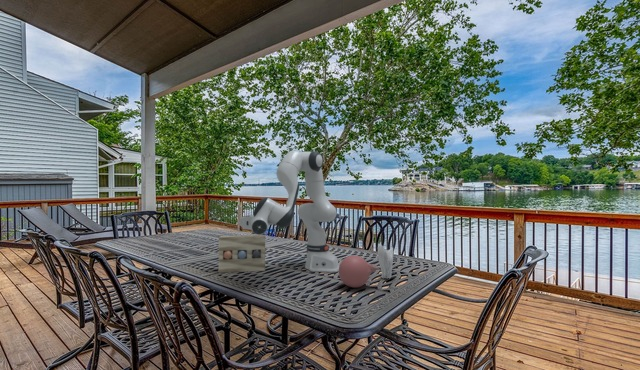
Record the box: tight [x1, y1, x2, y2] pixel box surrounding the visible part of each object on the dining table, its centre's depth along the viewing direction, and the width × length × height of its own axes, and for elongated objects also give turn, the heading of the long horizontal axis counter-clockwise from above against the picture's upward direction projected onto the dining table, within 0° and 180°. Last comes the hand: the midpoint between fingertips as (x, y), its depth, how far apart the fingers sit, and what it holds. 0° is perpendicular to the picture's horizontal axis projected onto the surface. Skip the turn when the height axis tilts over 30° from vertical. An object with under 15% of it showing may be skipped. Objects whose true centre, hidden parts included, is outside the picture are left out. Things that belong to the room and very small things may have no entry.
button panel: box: [218, 234, 266, 274], centre depth 181 cm, size 13×26×20 cm, turn 101°
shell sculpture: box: [377, 244, 394, 280], centre depth 165 cm, size 8×8×18 cm
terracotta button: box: [224, 250, 232, 259], centre depth 174 cm, size 4×4×4 cm
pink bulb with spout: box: [338, 254, 380, 289], centre depth 150 cm, size 15×20×15 cm
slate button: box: [238, 250, 246, 259], centre depth 174 cm, size 4×4×4 cm
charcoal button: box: [253, 250, 260, 258], centre depth 177 cm, size 4×4×4 cm
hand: (259, 218), depth 170 cm, fingers closed
